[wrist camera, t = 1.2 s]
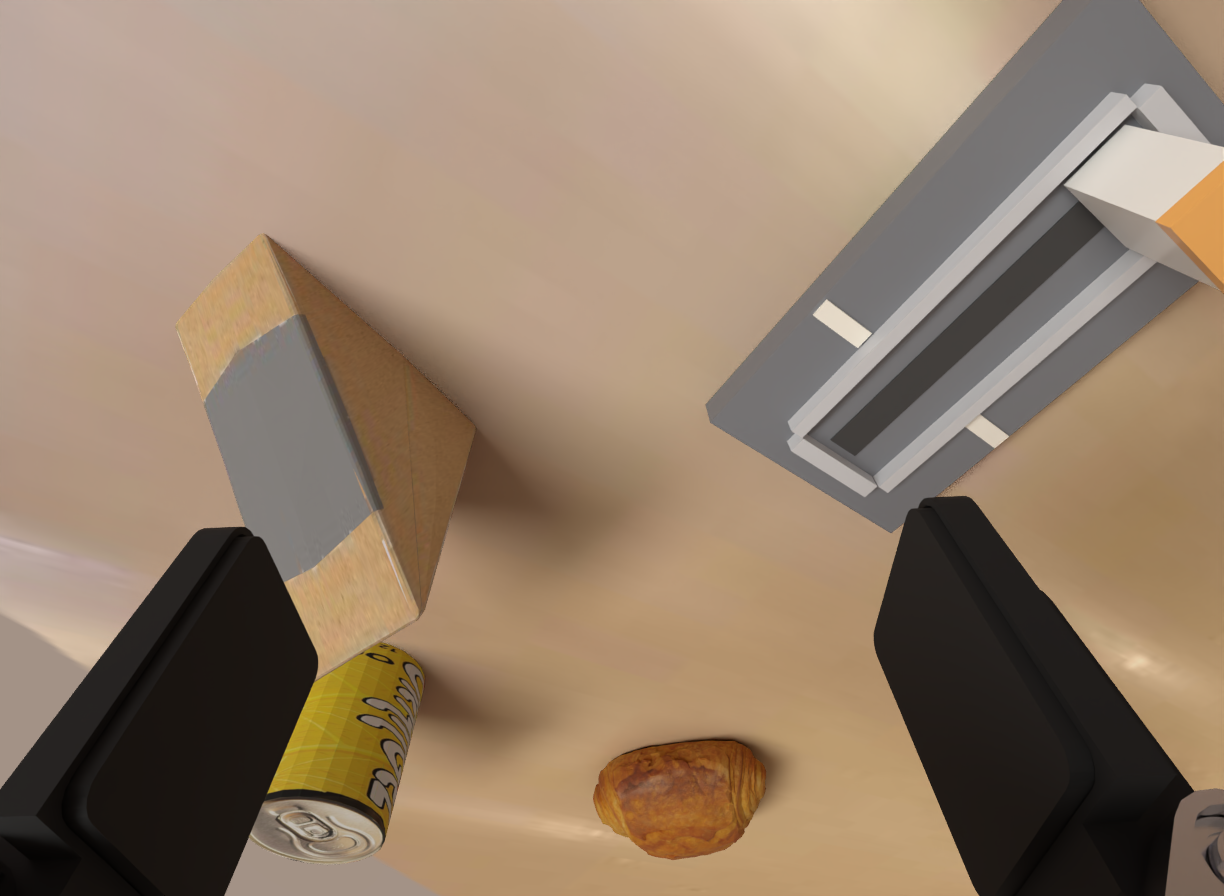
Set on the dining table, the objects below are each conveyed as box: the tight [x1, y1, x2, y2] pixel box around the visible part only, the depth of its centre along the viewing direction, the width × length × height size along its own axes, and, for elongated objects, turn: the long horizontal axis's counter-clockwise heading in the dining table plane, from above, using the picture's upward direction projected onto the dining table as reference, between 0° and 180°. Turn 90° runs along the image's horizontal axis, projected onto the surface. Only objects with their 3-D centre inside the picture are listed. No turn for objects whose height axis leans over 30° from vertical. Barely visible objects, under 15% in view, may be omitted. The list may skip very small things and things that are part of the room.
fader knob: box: [1064, 125, 1224, 294], centre depth 27 cm, size 3×5×7 cm, turn 55°
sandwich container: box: [176, 233, 476, 682], centre depth 31 cm, size 9×15×15 cm, turn 39°
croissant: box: [593, 740, 766, 860], centre depth 59 cm, size 14×16×8 cm
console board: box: [706, 0, 1224, 533], centre depth 34 cm, size 25×15×3 cm, turn 146°
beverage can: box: [249, 642, 425, 864], centre depth 47 cm, size 9×9×12 cm
